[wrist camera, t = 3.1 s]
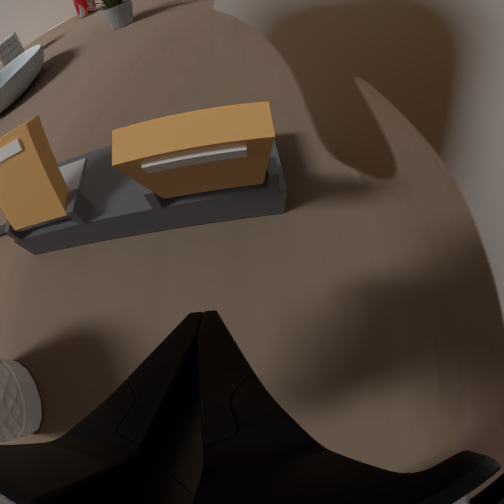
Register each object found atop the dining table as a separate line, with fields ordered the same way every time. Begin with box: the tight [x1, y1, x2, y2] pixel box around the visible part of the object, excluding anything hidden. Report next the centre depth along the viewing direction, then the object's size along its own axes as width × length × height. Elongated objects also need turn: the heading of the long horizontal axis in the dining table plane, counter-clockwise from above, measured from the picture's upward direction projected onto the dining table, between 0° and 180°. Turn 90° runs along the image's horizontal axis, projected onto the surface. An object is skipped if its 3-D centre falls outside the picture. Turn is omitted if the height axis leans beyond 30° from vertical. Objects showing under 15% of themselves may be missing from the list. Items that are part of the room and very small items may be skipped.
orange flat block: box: [112, 102, 275, 199], centre depth 13 cm, size 2×6×8 cm, turn 98°
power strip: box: [0, 140, 287, 255], centre depth 18 cm, size 7×31×5 cm, turn 98°
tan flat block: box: [0, 115, 70, 232], centre depth 13 cm, size 2×6×8 cm, turn 98°
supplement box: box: [0, 32, 25, 67], centre depth 37 cm, size 7×7×13 cm
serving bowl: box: [0, 44, 44, 113], centre depth 30 cm, size 21×21×7 cm
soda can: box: [73, 0, 96, 18], centre depth 48 cm, size 7×7×12 cm
